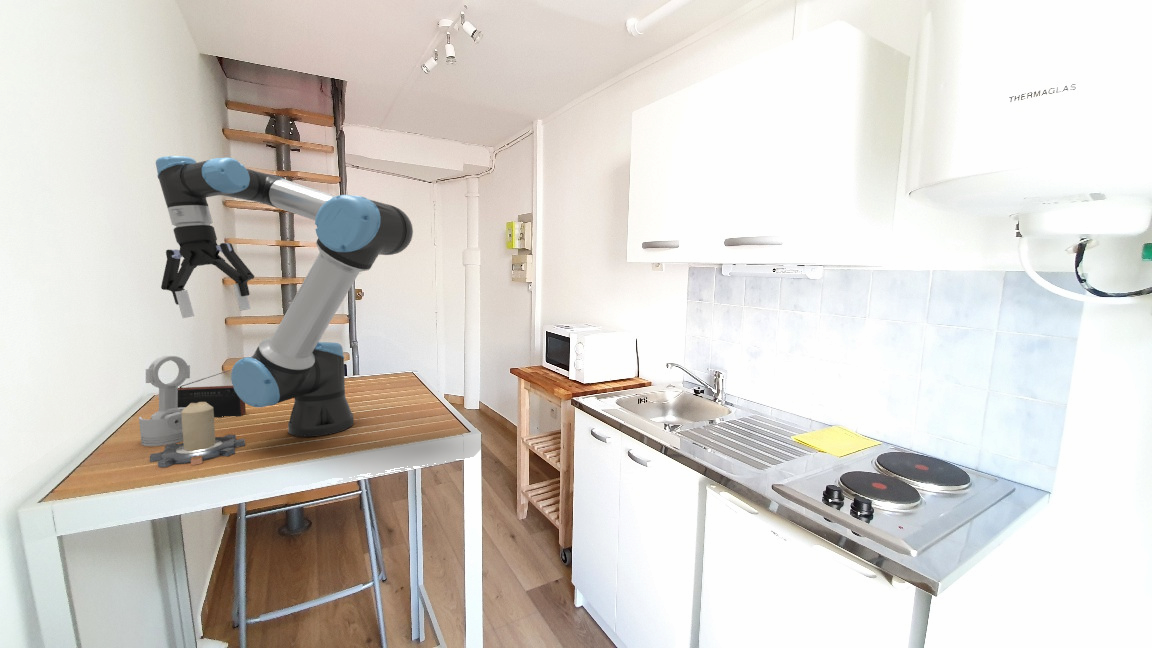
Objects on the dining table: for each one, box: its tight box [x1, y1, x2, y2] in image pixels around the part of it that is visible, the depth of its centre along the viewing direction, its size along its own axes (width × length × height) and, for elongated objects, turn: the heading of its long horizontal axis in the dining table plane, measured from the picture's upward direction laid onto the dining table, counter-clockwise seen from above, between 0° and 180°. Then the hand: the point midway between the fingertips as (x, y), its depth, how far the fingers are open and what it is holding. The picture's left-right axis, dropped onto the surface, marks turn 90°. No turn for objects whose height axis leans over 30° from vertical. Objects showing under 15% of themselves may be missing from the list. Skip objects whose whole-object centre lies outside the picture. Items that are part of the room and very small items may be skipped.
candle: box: [181, 402, 216, 450], centre depth 101 cm, size 6×6×10 cm
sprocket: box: [149, 434, 246, 468], centre depth 101 cm, size 16×16×1 cm
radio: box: [178, 368, 247, 418], centre depth 126 cm, size 19×3×15 cm, turn 103°
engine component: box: [138, 355, 191, 447], centre depth 109 cm, size 11×20×10 cm
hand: (217, 313), depth 109 cm, fingers open, 13 cm apart
